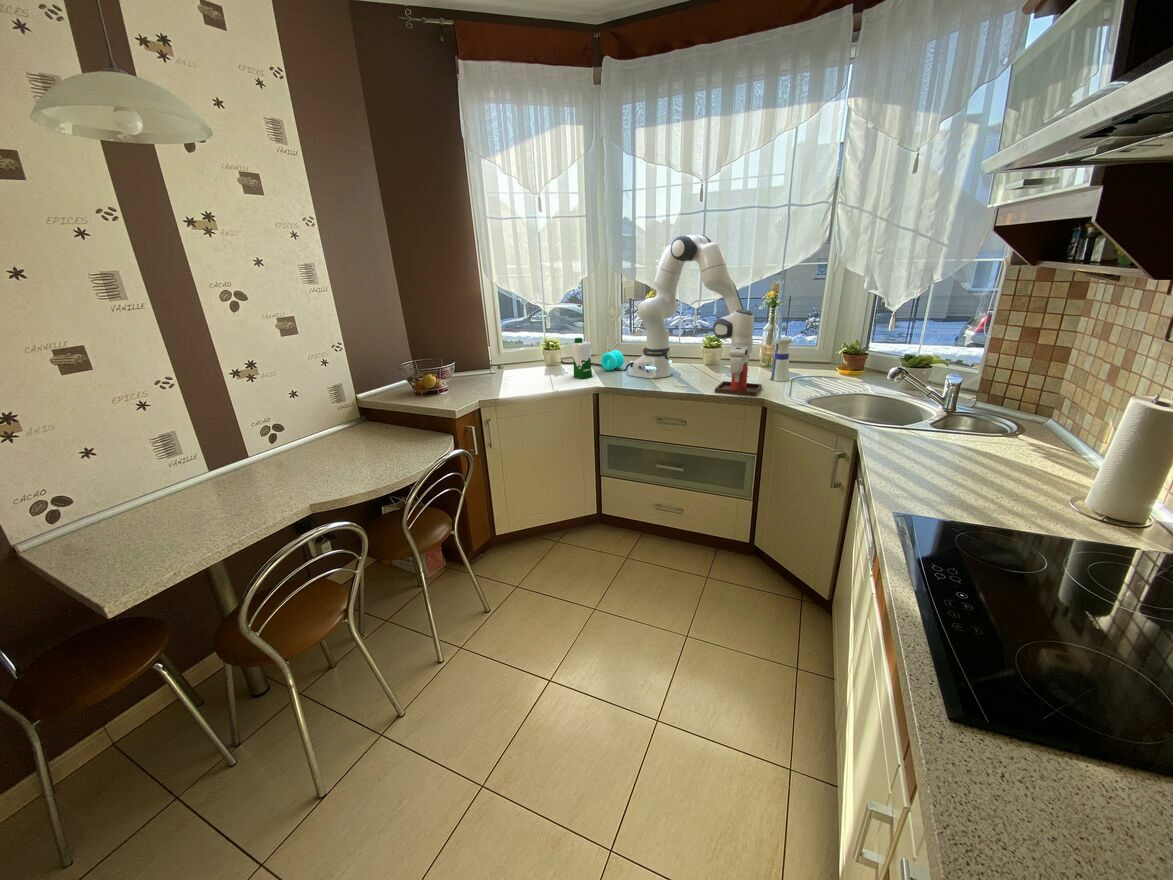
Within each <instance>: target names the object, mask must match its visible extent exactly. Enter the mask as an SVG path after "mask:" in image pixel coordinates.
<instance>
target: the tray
mask: <svg viewBox="0 0 1173 880" xmlns="http://www.w3.org/2000/svg"><path fill="white" fill-rule="evenodd" d="M762 389H763V384H762V383H751V382H750V383H749V382H747V385H746V390H744V391H743V390H732V389H731V381H727V380H722V381H721V382H720V383H719V384H718V385H716V386H715V387H714V394H722V395H723V394H724V395H735V396H743V397H744V396H745V397H754V398H755V397H757V395H758V394H759V393H760V392H761V391H762Z"/></svg>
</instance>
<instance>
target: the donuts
mask: <svg viewBox="0 0 1173 880" xmlns="http://www.w3.org/2000/svg"><path fill="white" fill-rule="evenodd" d="M624 363H625V357H624V354H623V353H622V352H621V351H620V350H617V349H613V350H611V351H609V352H605V353H603V354H602V356H601V358H600V364H601V365H602V366H603V367H602V366H601V367H602V368H603V369H604V370H606V371H609V372H611V371H614V370H613V369H620V368H621V367H623V365H624Z"/></svg>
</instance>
